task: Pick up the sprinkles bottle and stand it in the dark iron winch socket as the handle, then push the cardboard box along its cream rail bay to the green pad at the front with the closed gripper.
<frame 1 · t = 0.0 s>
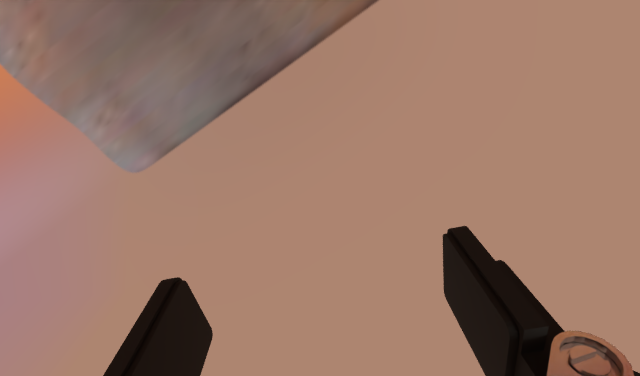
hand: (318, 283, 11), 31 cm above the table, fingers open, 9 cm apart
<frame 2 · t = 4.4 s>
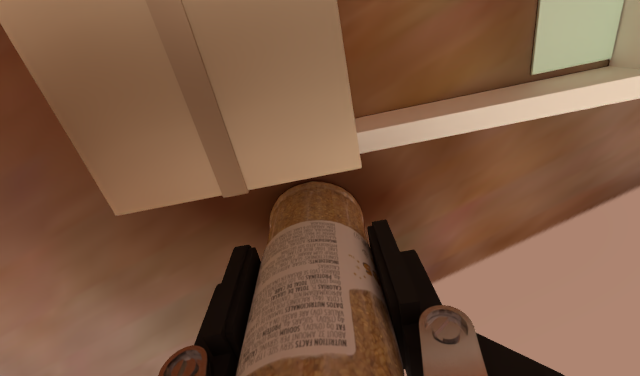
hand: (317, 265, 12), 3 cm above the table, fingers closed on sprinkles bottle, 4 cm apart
cardboard box: (224, 49, 8), point 3 cm above the table, slide at 0.0 cm
bay: (352, 22, 11), on the table
sprinkles bottle: (315, 216, 15), on the table, touching gripper
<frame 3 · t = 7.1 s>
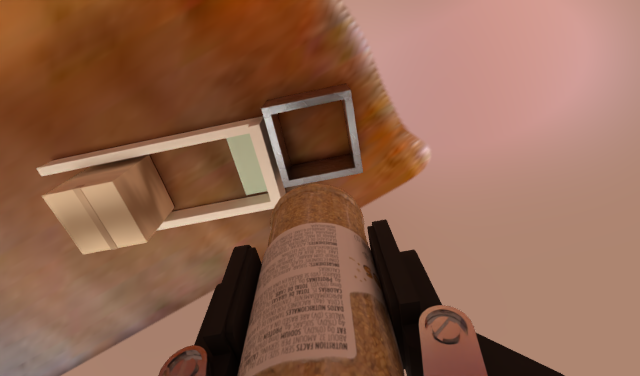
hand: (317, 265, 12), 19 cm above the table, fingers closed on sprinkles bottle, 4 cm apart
winch socket: (314, 130, 29), on the table
cardboard box: (117, 202, 28), point 3 cm above the table, slide at 0.0 cm
bay: (172, 179, 30), on the table
sprinkles bottle: (316, 218, 15), point 15 cm above the table, touching gripper
when the fingers open (5 cm above the table, at t = 10.2 s): sprinkles bottle drops 2 cm, resting in winch socket.
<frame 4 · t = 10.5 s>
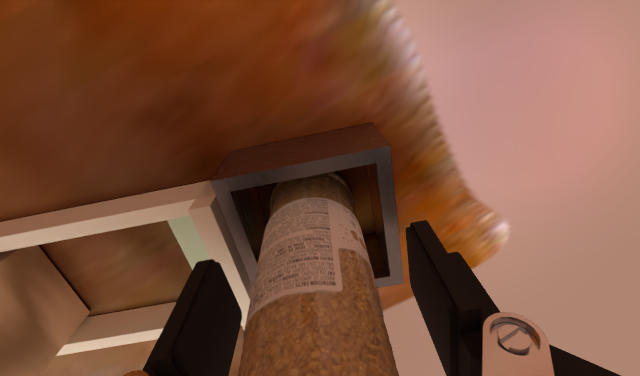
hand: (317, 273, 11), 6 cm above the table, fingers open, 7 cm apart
winch socket: (315, 199, 17), on the table
bay: (80, 273, 18), on the table
sprinkles bottle: (311, 199, 17), resting in winch socket
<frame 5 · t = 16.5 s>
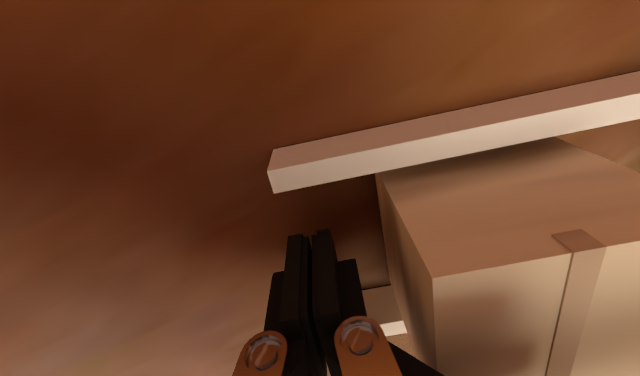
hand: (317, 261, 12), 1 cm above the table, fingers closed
cardboard box: (494, 263, 10), point 3 cm above the table, slide at 0.3 cm, touching gripper
bay: (543, 194, 12), on the table
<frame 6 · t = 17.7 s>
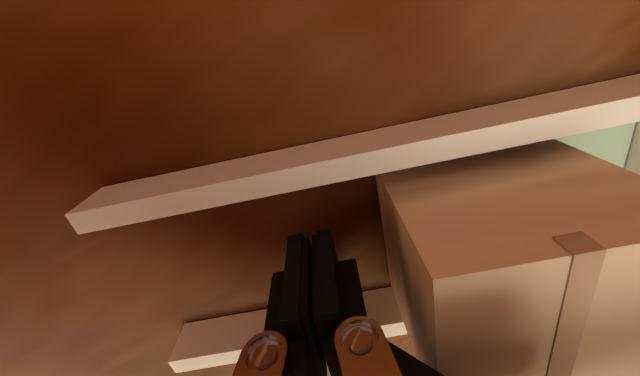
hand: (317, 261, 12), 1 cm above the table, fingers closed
cardboard box: (494, 265, 10), point 3 cm above the table, slide at 7.1 cm, touching gripper
bay: (380, 227, 13), on the table
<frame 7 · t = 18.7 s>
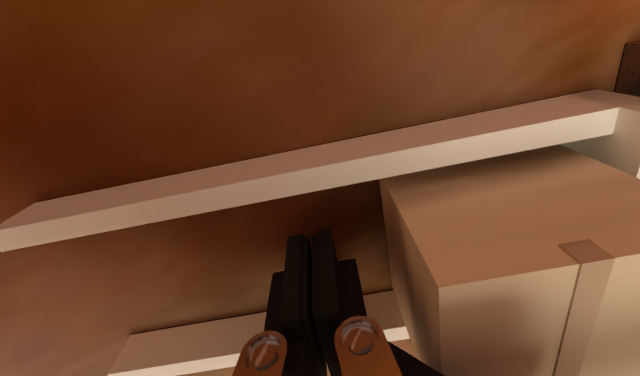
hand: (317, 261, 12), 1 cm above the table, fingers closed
cardboard box: (498, 270, 10), point 3 cm above the table, slide at 10.0 cm
bay: (316, 243, 13), on the table
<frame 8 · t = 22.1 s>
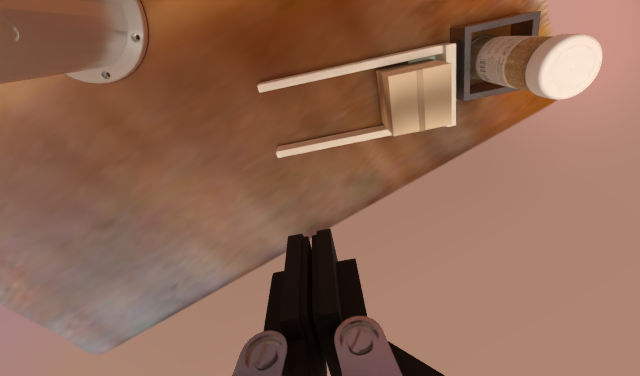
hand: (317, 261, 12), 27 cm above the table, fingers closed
winch socket: (482, 56, 34), on the table
cardboard box: (412, 96, 33), point 3 cm above the table, slide at 10.0 cm
bay: (353, 101, 36), on the table
sprinkles bottle: (479, 57, 34), resting in winch socket
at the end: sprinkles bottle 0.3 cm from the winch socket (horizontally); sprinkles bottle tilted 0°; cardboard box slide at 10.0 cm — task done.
